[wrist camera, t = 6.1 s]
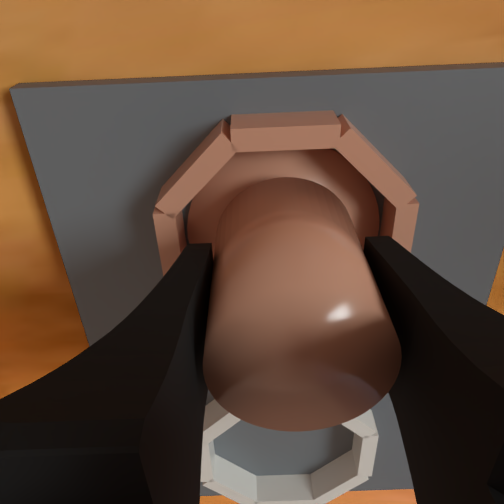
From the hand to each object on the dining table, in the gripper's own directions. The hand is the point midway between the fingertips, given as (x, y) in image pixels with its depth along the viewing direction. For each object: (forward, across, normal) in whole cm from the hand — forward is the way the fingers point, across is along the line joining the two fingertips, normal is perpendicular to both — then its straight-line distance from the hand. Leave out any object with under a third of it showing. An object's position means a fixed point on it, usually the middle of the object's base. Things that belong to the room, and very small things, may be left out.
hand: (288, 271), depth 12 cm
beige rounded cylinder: (+1, 0, 0) cm, 1 cm away
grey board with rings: (+3, 0, +5) cm, 6 cm away
